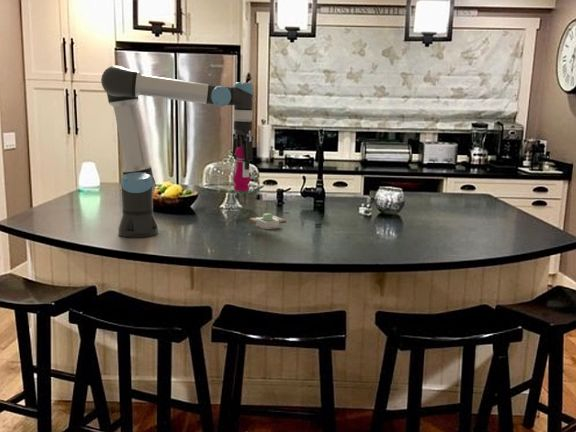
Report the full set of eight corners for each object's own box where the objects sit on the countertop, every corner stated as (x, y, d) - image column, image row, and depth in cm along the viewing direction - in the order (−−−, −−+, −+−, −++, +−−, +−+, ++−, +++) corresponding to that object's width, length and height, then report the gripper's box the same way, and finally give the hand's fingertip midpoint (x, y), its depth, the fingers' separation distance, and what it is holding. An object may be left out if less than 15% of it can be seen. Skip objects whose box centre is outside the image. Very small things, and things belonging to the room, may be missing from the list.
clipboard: (260, 224, 248) (260, 222, 248) (249, 220, 256) (249, 217, 256) (285, 221, 255) (285, 219, 255) (274, 217, 263) (274, 215, 263)
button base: (264, 229, 240) (264, 222, 239) (256, 225, 246) (256, 218, 245) (278, 227, 244) (278, 220, 243) (270, 224, 250) (270, 217, 249)
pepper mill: (251, 189, 247) (252, 142, 243) (248, 191, 240) (249, 143, 236) (234, 188, 248) (235, 141, 244) (231, 190, 241) (232, 142, 237)
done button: (265, 223, 242) (266, 215, 241) (261, 222, 245) (261, 213, 244) (274, 223, 244) (274, 214, 243) (269, 221, 247) (269, 212, 246)
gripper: (262, 122, 232) (260, 178, 237) (240, 119, 248) (239, 172, 253) (246, 122, 228) (244, 179, 233) (224, 119, 244) (223, 173, 249)
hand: (241, 175), depth 243 cm, fingers closed on pepper mill, 6 cm apart
